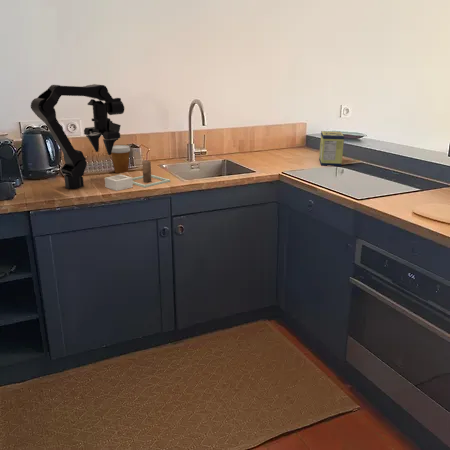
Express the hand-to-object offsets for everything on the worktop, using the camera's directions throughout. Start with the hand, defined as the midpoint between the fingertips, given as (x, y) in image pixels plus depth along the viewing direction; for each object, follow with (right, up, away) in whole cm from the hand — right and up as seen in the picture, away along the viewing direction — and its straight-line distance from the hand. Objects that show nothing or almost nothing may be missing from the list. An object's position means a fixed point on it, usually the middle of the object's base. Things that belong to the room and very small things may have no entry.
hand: (103, 153), depth 202 cm
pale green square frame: (+18, -13, +4) cm, 22 cm away
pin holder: (+8, -16, -5) cm, 18 cm away
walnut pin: (+18, -12, +4) cm, 22 cm away
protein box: (+107, +2, +47) cm, 117 cm away
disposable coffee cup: (+3, -5, +24) cm, 25 cm away
